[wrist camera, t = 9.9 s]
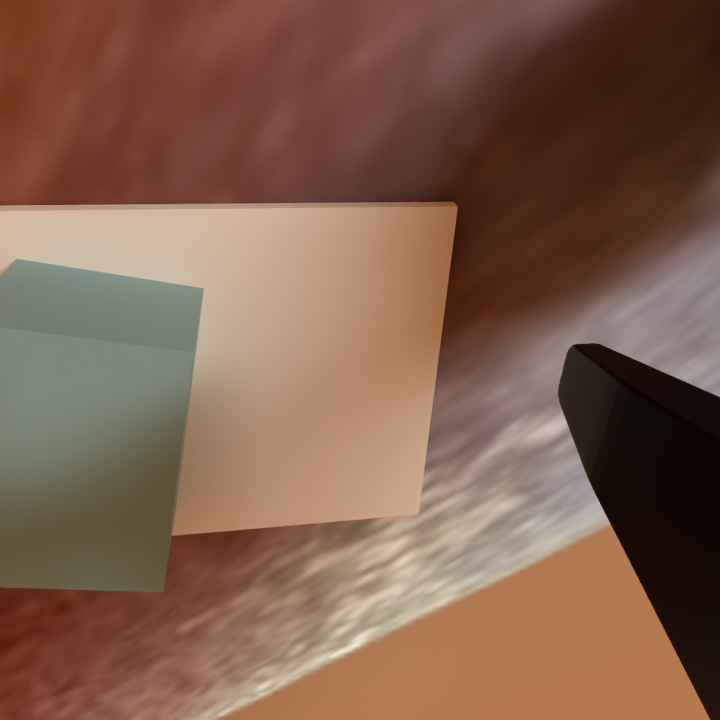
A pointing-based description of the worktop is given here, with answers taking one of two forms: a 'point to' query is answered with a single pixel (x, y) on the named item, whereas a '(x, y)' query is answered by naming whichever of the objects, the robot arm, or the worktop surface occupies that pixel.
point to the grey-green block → (91, 425)
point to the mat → (283, 344)
